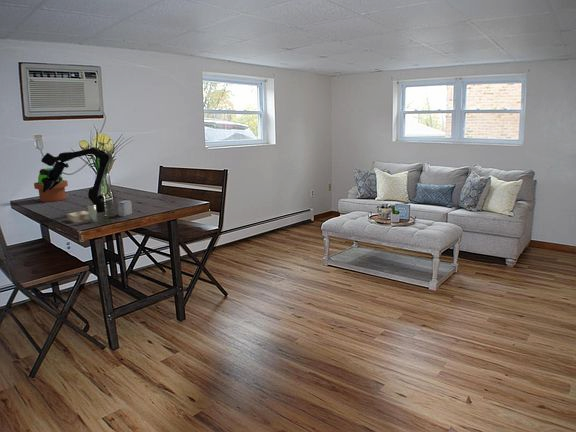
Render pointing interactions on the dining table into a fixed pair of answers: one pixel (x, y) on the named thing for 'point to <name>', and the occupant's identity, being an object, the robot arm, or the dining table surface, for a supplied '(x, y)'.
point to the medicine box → (125, 208)
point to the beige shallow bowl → (78, 216)
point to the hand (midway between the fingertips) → (46, 191)
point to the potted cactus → (54, 193)
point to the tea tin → (92, 213)
